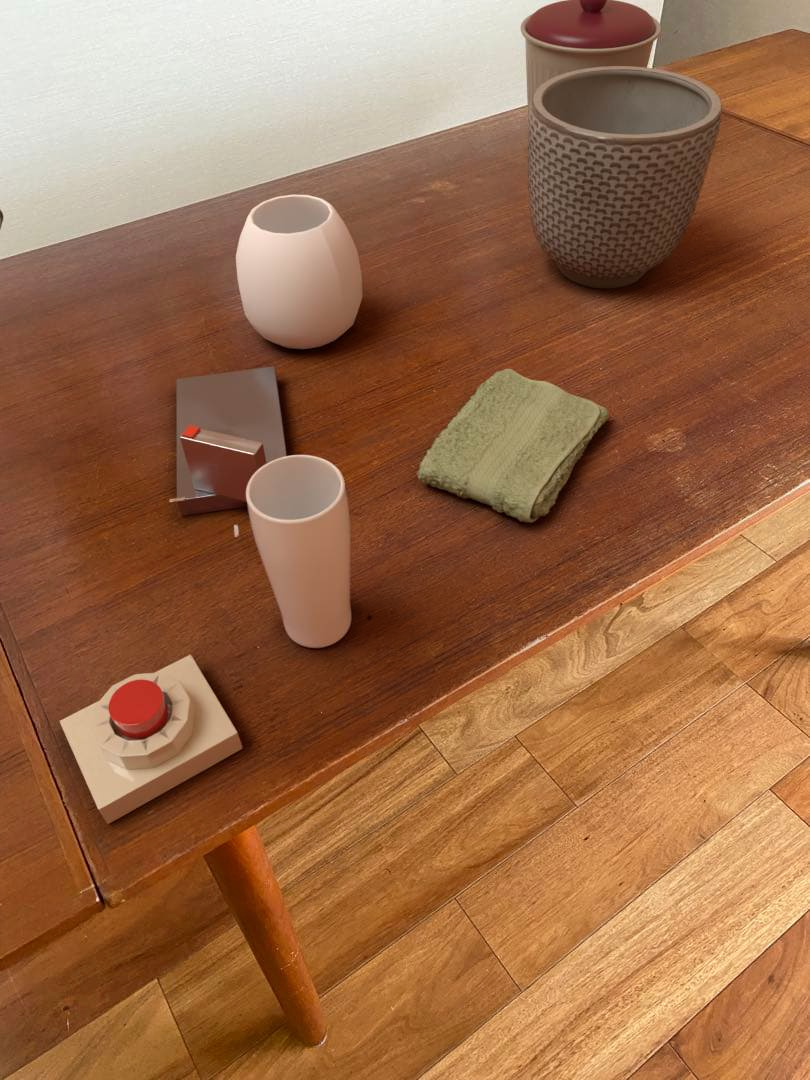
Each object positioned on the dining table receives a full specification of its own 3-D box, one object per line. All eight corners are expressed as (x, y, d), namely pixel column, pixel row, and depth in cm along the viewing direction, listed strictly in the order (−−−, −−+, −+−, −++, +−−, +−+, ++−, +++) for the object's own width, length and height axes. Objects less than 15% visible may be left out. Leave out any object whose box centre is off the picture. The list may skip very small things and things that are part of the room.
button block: (107, 824, 58) (89, 797, 55) (68, 736, 62) (50, 706, 59) (243, 748, 61) (233, 718, 58) (196, 670, 66) (185, 639, 63)
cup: (310, 284, 103) (296, 172, 93) (389, 324, 97) (383, 209, 87) (223, 332, 97) (198, 217, 87) (302, 379, 90) (285, 261, 80)
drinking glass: (329, 578, 72) (308, 439, 61) (378, 628, 68) (366, 490, 57) (259, 619, 69) (225, 482, 58) (306, 674, 65) (279, 539, 54)
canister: (578, 117, 134) (595, -44, 118) (667, 155, 123) (698, -15, 108) (487, 149, 127) (493, -16, 111) (573, 193, 117) (593, 17, 101)
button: (126, 748, 57) (119, 735, 56) (107, 709, 59) (100, 695, 58) (177, 721, 59) (171, 707, 57) (156, 684, 61) (150, 670, 59)
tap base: (306, 543, 74) (303, 526, 73) (174, 564, 73) (168, 546, 72) (283, 380, 90) (280, 363, 89) (174, 395, 89) (169, 378, 88)
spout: (273, 494, 76) (262, 440, 71) (265, 506, 75) (253, 452, 70) (203, 477, 77) (188, 423, 73) (194, 489, 76) (178, 434, 72)
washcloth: (613, 420, 84) (618, 393, 82) (537, 536, 74) (540, 509, 72) (492, 381, 89) (494, 355, 87) (405, 486, 79) (404, 459, 76)
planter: (495, 240, 109) (503, 78, 95) (640, 216, 112) (668, 55, 98) (555, 325, 96) (574, 151, 82) (716, 294, 99) (762, 122, 85)
